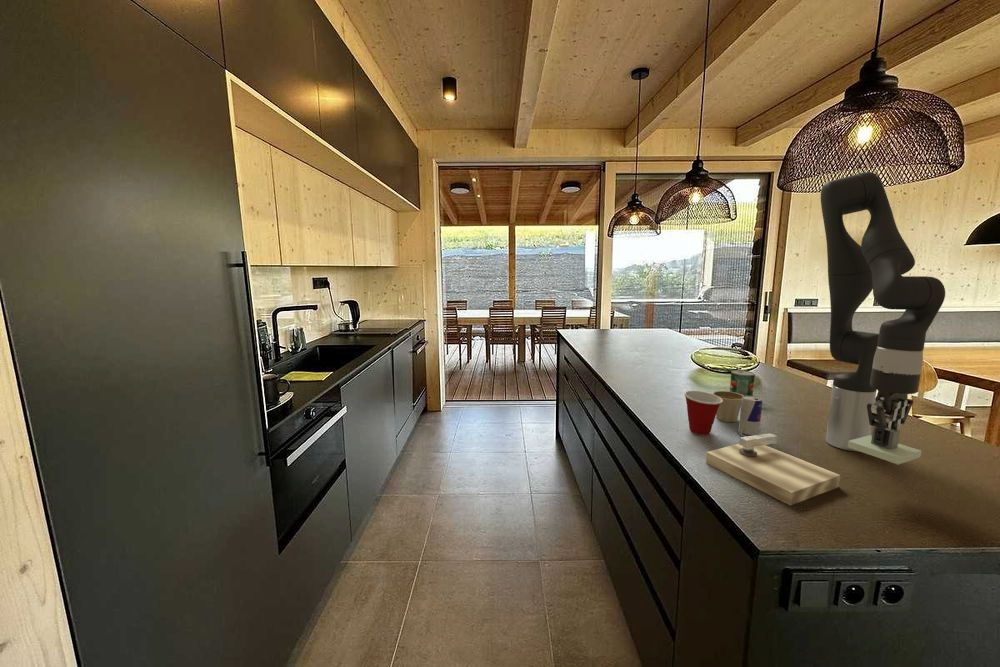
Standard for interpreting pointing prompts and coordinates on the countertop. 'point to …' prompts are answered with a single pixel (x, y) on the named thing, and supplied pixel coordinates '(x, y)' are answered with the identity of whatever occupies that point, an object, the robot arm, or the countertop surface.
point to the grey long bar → (757, 441)
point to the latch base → (774, 472)
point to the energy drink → (750, 416)
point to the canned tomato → (742, 382)
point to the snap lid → (885, 448)
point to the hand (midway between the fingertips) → (884, 443)
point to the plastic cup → (701, 411)
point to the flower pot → (728, 406)
